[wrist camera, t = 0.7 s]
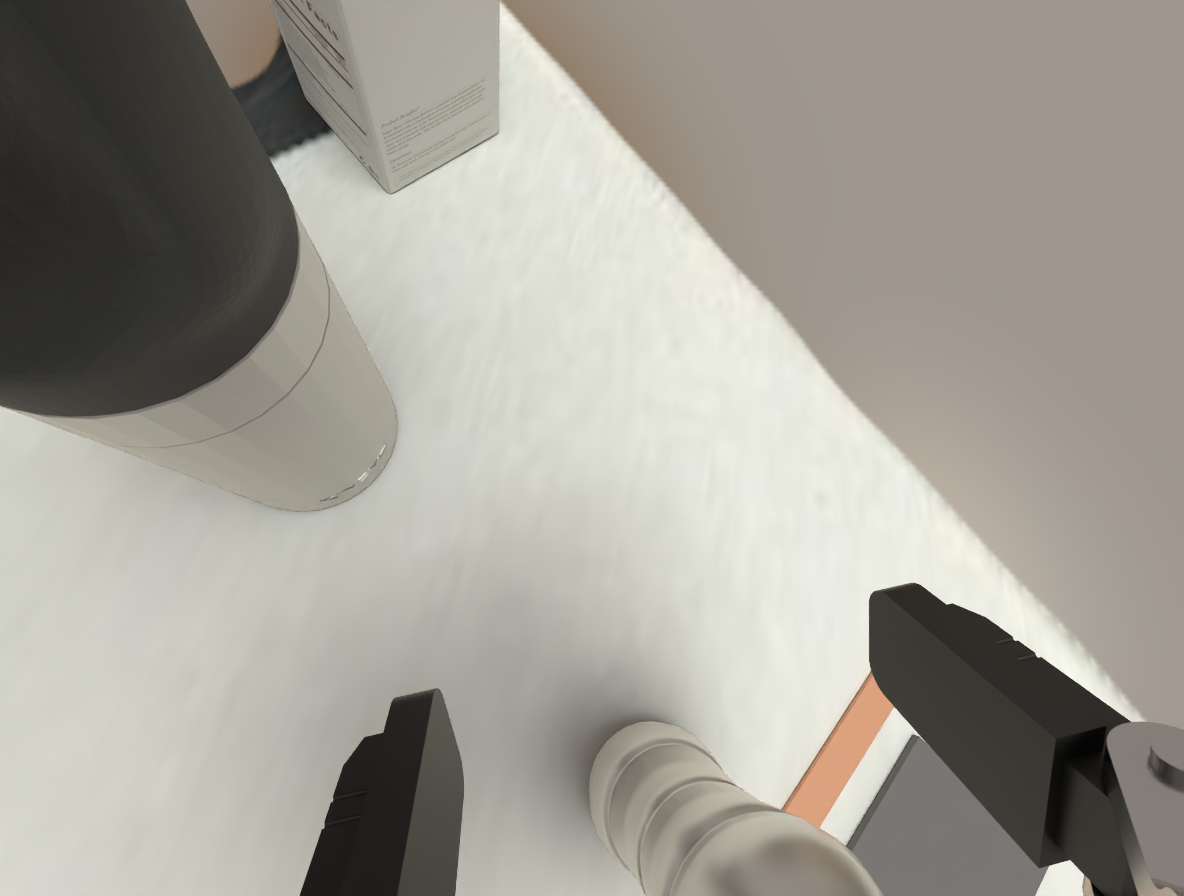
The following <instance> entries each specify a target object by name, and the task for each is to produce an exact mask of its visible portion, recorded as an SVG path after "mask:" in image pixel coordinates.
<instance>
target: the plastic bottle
mask: <svg viewBox="0 0 1184 896" xmlns="http://www.w3.org/2000/svg"><path fill="white" fill-rule="evenodd" d="M589 797H590V811H591V815H592V819H593V823H594V827H595V829H596V831H597V833H598V835H599V837H600V839H601V841H602V842H603V843H604V845H605V846H606V848H607V849H608V850H609V852H610V853H611V854H612V855H613V856H614V857H615V858H616V860H617V861H618V862H620V863H621V864H622V865H623V866H624V867H625V868H626V869H627V870H628V871H630V872H631V873H632V874H633V876H634V877H635V878H636V880H637V881H638V883H639V884H640V885H641V887H642V888H643V891H644V893H645V895H646V896H883V894H882V892H881V891H880V889H879V888H878V886H877V885H876V883H875V882H874V880H873V879H872V877H871V876H870V874H869V873H868V871H867V870H866V869H865V868H864V866H863V865H862V864H861V862H860V861H859V860H858V858H857V857H856V856H855V854H854V853H852V852H851V851H850V850H849V849H848V848H847V847H846V846H845V845H844V844H842V843H841V842H840V841H839V840H838V839H836V838H835V837H833V836H831V835H830V834H828V833H826V832H825V831H823V830H821V829H820V828H818V827H816V826H814V825H813V824H811V823H809V822H807V821H806V820H804V819H802V818H799V817H797V816H795V815H792V814H790V813H788V812H785V811H783V810H781V809H778V808H776V807H774V806H771V805H769V804H767V803H764V802H762V801H760V800H758V799H757V798H755V797H754V796H752V795H751V794H749V793H747V792H746V791H744V790H743V789H741V788H740V787H738V786H737V785H736V784H735V783H734V782H733V781H732V780H731V779H730V778H729V777H728V776H727V775H726V774H725V773H724V772H723V770H722V768H721V766H720V764H719V763H718V762H717V760H716V759H715V758H714V756H713V755H712V754H711V752H710V751H709V750H708V749H707V747H706V746H705V745H704V744H703V743H702V742H701V741H700V740H699V739H698V738H697V737H696V736H694V735H693V734H691V733H690V732H688V731H686V730H685V729H683V728H680V727H677V726H674V725H672V724H667V723H661V722H653V721H647V722H638V723H635V724H632V725H629V726H627V727H625V728H623V729H621V730H619V731H618V732H616V733H615V734H614V735H613V736H612V737H611V738H609V739H608V740H607V742H606V743H605V744H604V745H603V747H602V748H601V749H600V751H599V753H598V755H597V757H596V759H595V761H594V764H593V767H592V770H591V774H590V782H589Z"/></svg>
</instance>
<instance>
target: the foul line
mask: <svg viewBox="0 0 1184 896" xmlns="http://www.w3.org/2000/svg"><path fill="white" fill-rule="evenodd" d="M893 708H894V706H893V705H892V703H891V702H890V701H889V700H888V699H887V698H886V697H885V696H884V694H883V693H882V692H881V690H880V689H879V687H878V685H877V683H876V681H875V679H874V677H873V674H872V672H871V673H870V675H869V676H868V678H867V680H866V681H865V683H864V684H863V686H862V687H861V689H860V690H859V692H858V693H857V695H856V697H855V698H854V700H853V701H852V703H851V704H850V706H849V707H848V709H847V711H846V712H845V714H844V715H843V717H842V718H841V720H840V721H839V723H838V724H837V726H836V728H835V729H834V731H833V732H832V734H831V735H830V737H829V738H828V740H827V742H826V743H825V745H824V746H823V748H822V749H821V751H820V752H819V754H818V755H817V757H816V759H815V760H814V762H813V763H812V765H811V766H810V768H809V769H808V771H807V773H806V774H805V776H804V777H803V779H802V780H801V782H800V783H799V785H798V786H797V788H796V790H795V791H794V793H793V794H792V796H791V797H790V799H789V800H788V802H787V804H786V805H785V807H784V808H783V811H785V812H788V813H790V814H792V815H795V816H797V817H799V818H802V819H804V820H806V821H807V822H809V823H811V824H813V825H814V826H816V827H818V828H819V827H820V826H821V824H822V823H823V821H824V819H825V818H826V816H827V815H828V813H829V811H830V810H831V808H832V806H833V805H834V803H835V802H836V800H837V798H838V797H839V795H840V793H841V792H842V790H843V789H844V787H845V785H846V784H847V782H848V780H849V779H850V777H851V776H852V774H853V772H854V771H855V769H856V768H857V766H858V764H859V763H860V761H861V759H862V758H863V756H864V755H865V753H866V751H867V750H868V748H869V746H870V745H871V743H872V742H873V740H874V738H875V737H876V735H877V733H878V732H879V730H880V729H881V727H882V725H883V724H884V722H885V720H886V719H887V717H888V716H889V714H890V712H891V711H892V709H893Z"/></svg>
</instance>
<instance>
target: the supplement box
mask: <svg viewBox="0 0 1184 896" xmlns="http://www.w3.org/2000/svg"><path fill="white" fill-rule="evenodd" d="M269 3H270V6H271V8H272V11H273V13H274V16H275V19H276V21H277V24H278V27H279V29H280V32H281V34H282V37H283V39H284V42H285V45H286V47H287V50H288V53H289V55H290V58H291V61H292V63H293V66H294V68H295V71H296V74H297V76H298V79H299V82H300V84H301V87H302V90H303V92H304V95H305V98H306V99H307V101H308V102H309V103H310V104H311V105H312V107H313V108H314V109H315V110H316V111H317V112H318V113H319V115H320V116H321V117H322V118H323V119H324V120H325V121H326V123H327V124H328V125H329V126H330V127H331V128H332V130H333V131H334V132H335V133H336V134H337V135H338V136H339V138H340V139H341V140H342V141H343V142H344V143H345V144H346V146H347V147H348V148H349V149H350V150H351V151H352V152H353V154H354V155H355V156H356V157H357V158H358V159H359V160H360V162H361V163H362V164H363V165H364V166H365V167H366V169H367V170H368V171H369V172H370V173H371V174H372V175H373V177H374V178H375V179H376V180H377V181H378V182H379V184H380V185H381V186H382V187H383V188H384V189H385V190H386V191H387V192H388V193H394V192H396V191H397V190H399V189H401V188H402V187H404V186H406V185H407V184H409V183H411V182H413V181H414V180H416V179H418V178H420V177H421V176H423V175H425V174H427V173H428V172H430V171H432V170H434V169H436V168H437V167H439V166H441V165H443V164H444V163H446V162H448V161H449V160H451V159H453V158H455V157H456V156H458V155H460V154H462V153H463V152H465V151H467V150H469V149H470V148H472V147H474V146H476V145H477V144H479V143H481V142H482V141H484V140H486V139H488V138H489V137H491V136H493V135H495V134H496V133H498V131H499V0H269Z"/></svg>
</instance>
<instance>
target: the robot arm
mask: <svg viewBox="0 0 1184 896" xmlns="http://www.w3.org/2000/svg"><path fill="white" fill-rule="evenodd" d="M0 406H2V407H4V408H7V409H10V410H12V411H15V412H18V413H20V414H23V415H26V416H28V417H31V418H34V419H36V420H39V421H42V422H44V423H47V424H50V425H53V426H55V427H58V428H61V429H63V430H66V431H69V432H71V433H74V434H77V435H79V436H82V437H85V438H89V439H92V440H94V441H97V442H100V443H102V444H105V445H108V446H110V447H113V448H116V449H118V450H121V451H124V452H126V453H129V454H132V455H134V456H137V457H140V458H142V459H145V460H148V461H150V462H153V463H156V464H158V465H161V466H164V467H166V468H169V469H172V470H174V471H177V472H180V473H182V474H185V475H188V476H190V477H193V478H196V479H198V480H201V481H204V482H206V483H209V484H212V485H215V486H217V487H220V488H223V489H225V490H228V491H230V492H233V493H235V494H238V495H241V496H243V497H246V498H249V499H252V500H255V501H257V502H260V503H263V504H266V505H269V506H271V507H274V508H277V509H283V510H290V511H313V510H320V509H324V508H328V507H332V506H335V505H338V504H340V503H342V502H344V501H346V500H348V499H351V498H353V497H354V496H356V495H357V494H359V493H360V492H361V491H363V490H364V489H365V488H367V487H368V486H369V485H370V484H371V483H372V482H373V481H374V480H375V479H376V477H377V476H378V475H379V474H380V473H381V472H382V470H383V469H384V467H385V465H386V463H387V462H388V460H389V458H390V457H391V454H392V450H393V447H394V444H395V441H396V433H397V418H396V411H395V406H394V403H393V401H392V398H391V396H390V393H389V391H388V389H387V387H386V385H385V383H384V381H383V379H382V377H381V375H380V373H379V371H378V369H377V367H376V365H375V363H374V361H373V359H372V357H371V355H370V353H369V351H368V349H367V347H366V345H365V343H364V341H363V339H362V338H361V336H360V334H359V332H358V330H357V328H356V326H355V324H354V322H353V320H352V318H351V316H350V314H349V312H348V310H347V308H346V306H345V305H344V303H343V301H342V299H341V297H340V295H339V293H338V291H337V289H336V287H335V285H334V283H333V281H332V279H331V277H330V275H329V274H328V272H327V270H326V268H325V266H324V264H323V262H322V260H321V258H320V256H319V254H318V252H317V250H316V248H315V246H314V245H313V243H312V241H311V239H310V237H309V236H308V234H307V232H306V230H305V228H304V226H303V224H302V222H301V220H300V218H299V216H298V214H297V212H296V210H295V208H294V206H293V204H292V202H291V200H290V199H289V196H288V194H287V191H286V189H285V187H284V185H283V183H282V182H281V180H280V178H279V176H278V174H277V172H276V170H275V169H274V167H273V165H272V163H271V161H270V159H269V157H268V156H267V154H266V152H265V150H264V148H263V146H262V145H261V143H260V141H259V139H258V137H257V135H256V134H255V132H254V130H253V128H252V127H251V125H250V123H249V121H248V120H247V118H246V116H245V114H244V113H243V111H242V109H241V107H240V105H239V103H238V102H237V100H236V98H235V96H234V94H233V93H232V91H231V89H230V87H229V85H228V83H227V81H226V79H225V77H224V75H223V73H222V71H221V70H220V68H219V66H218V64H217V62H216V60H215V58H214V56H213V54H212V52H211V50H210V48H209V47H208V44H207V42H206V41H205V39H204V37H203V35H202V33H201V31H200V29H199V27H198V25H197V23H196V21H195V19H194V17H193V15H192V13H191V11H190V9H189V7H188V5H187V3H186V1H185V0H0ZM869 662H870V667H871V671H872V674H873V677H874V679H875V681H876V683H877V685H878V687H879V689H880V690H881V692H882V693H883V694H884V696H885V697H886V698H887V699H888V700H889V701H890V702H891V703H892V705H893V706H894V707H895V708H896V709H897V710H898V711H899V712H900V714H901V715H902V716H903V717H904V718H905V719H906V720H907V721H908V723H909V724H910V725H911V726H912V727H913V728H914V729H915V730H916V731H917V733H918V734H919V735H920V736H921V737H922V738H923V739H924V740H925V742H926V743H927V744H928V745H929V746H930V747H931V748H932V749H933V751H934V752H935V753H936V754H937V755H938V756H939V757H940V758H941V759H942V761H943V762H944V763H945V764H946V765H947V766H948V767H949V768H950V770H951V771H952V772H953V773H954V774H955V775H956V776H957V777H958V779H959V780H960V781H961V782H962V783H963V784H964V785H965V786H966V788H967V789H968V790H969V791H970V792H971V793H972V794H973V795H974V796H975V798H976V799H977V800H978V801H979V802H980V803H981V804H982V805H983V807H984V808H985V809H986V810H987V811H988V812H989V813H990V814H991V816H992V817H993V818H994V819H995V820H996V821H997V822H998V823H999V824H1000V826H1001V827H1002V828H1003V829H1004V830H1005V831H1006V832H1007V833H1008V835H1009V836H1010V837H1011V838H1012V839H1013V840H1014V841H1015V842H1016V844H1017V845H1018V846H1019V847H1020V848H1021V849H1022V850H1023V851H1024V852H1025V854H1026V855H1027V856H1028V857H1029V858H1030V859H1031V860H1032V861H1033V863H1034V864H1035V865H1036V866H1037V867H1038V868H1042V867H1046V866H1050V865H1053V864H1057V863H1060V862H1064V861H1068V860H1071V861H1072V862H1073V863H1074V864H1075V865H1076V866H1077V868H1078V869H1079V870H1080V871H1081V872H1082V873H1083V874H1084V879H1083V886H1082V888H1083V896H1184V730H1182V729H1179V728H1176V727H1172V726H1168V725H1164V724H1158V723H1151V722H1131V721H1129V720H1128V719H1126V718H1125V717H1124V716H1122V715H1121V714H1119V713H1118V712H1117V711H1115V710H1114V709H1113V708H1111V707H1110V706H1108V705H1107V704H1106V703H1104V702H1103V701H1101V700H1100V699H1099V698H1097V697H1096V696H1094V695H1093V694H1092V693H1090V692H1089V691H1087V690H1086V689H1085V688H1083V687H1082V686H1081V685H1079V684H1078V683H1076V682H1075V681H1074V680H1072V679H1071V678H1069V677H1068V676H1067V675H1065V674H1064V673H1062V672H1061V671H1060V670H1058V669H1057V668H1055V667H1054V666H1053V665H1051V664H1050V663H1049V662H1047V661H1046V660H1044V659H1043V658H1042V657H1040V658H1038V657H1037V656H1036V655H1035V652H1033V651H1032V650H1030V649H1029V648H1028V647H1026V646H1025V645H1023V644H1022V643H1021V642H1019V641H1014V640H1013V637H1012V636H1011V635H1010V634H1008V633H1007V632H1005V631H1004V630H1003V629H1001V628H1000V627H998V626H997V625H996V624H994V623H993V622H991V621H990V620H989V619H987V618H986V617H984V616H981V615H979V614H976V613H974V612H972V611H969V610H967V609H965V608H962V607H960V606H957V605H955V604H948V605H946V604H945V603H944V602H942V601H941V600H940V599H938V598H937V597H936V596H934V595H933V594H932V593H930V592H929V591H928V590H926V589H925V588H924V587H922V586H921V585H919V584H917V583H909V584H904V585H900V586H895V587H891V588H887V589H882V590H878V591H874V592H873V593H872V594H871V596H870V599H869ZM463 797H464V779H463V768H462V762H461V757H460V753H459V749H458V746H457V743H456V739H455V736H454V732H453V729H452V726H451V722H450V719H449V715H448V712H447V709H446V705H445V702H444V698H443V695H442V693H441V691H440V690H439V689H438V688H436V689H432V690H427V691H423V692H418V693H414V694H410V695H405V696H401V697H396V698H394V699H393V701H392V703H391V707H390V710H389V714H388V717H387V721H386V725H385V728H384V732H383V733H381V734H376V735H372V736H368V737H364V739H363V740H362V741H361V743H360V744H359V745H358V747H357V748H356V750H355V751H354V752H353V754H352V755H351V756H350V758H349V759H348V760H347V762H346V763H345V764H344V766H343V768H342V771H341V774H340V777H339V780H338V783H337V786H336V789H335V792H334V795H333V799H334V800H333V802H331V804H330V807H329V810H328V813H327V816H326V819H325V822H324V823H325V828H324V829H322V831H321V834H320V837H319V840H318V843H317V846H316V849H315V852H314V855H313V858H312V860H311V863H310V866H309V869H308V872H307V875H306V878H305V881H304V884H303V887H302V890H301V893H300V896H455V890H456V878H457V867H458V855H459V844H460V832H461V821H462V809H463Z"/></svg>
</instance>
